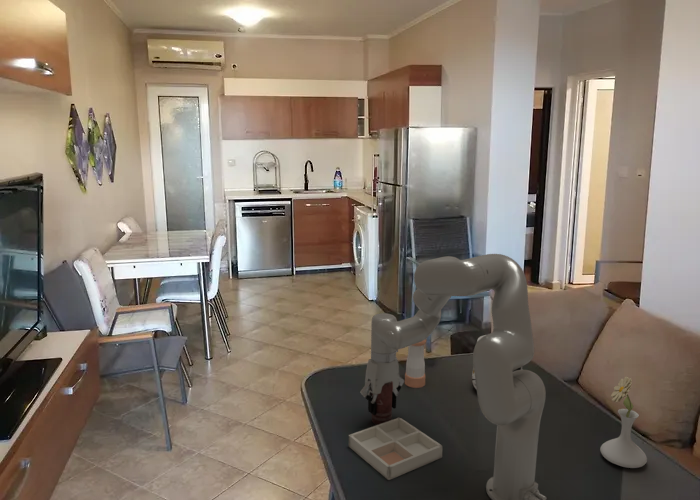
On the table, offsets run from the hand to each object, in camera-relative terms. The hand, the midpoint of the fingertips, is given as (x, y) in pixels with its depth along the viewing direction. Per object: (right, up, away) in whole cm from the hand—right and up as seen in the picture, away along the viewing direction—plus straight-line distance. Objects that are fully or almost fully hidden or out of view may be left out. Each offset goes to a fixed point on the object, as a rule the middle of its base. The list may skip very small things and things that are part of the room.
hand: (382, 409), depth 164 cm
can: (0, -4, +1) cm, 4 cm away
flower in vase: (+64, -9, -19) cm, 67 cm away
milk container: (+41, 0, +22) cm, 46 cm away
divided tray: (+3, -7, -15) cm, 17 cm away
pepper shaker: (+13, +1, +27) cm, 30 cm away
